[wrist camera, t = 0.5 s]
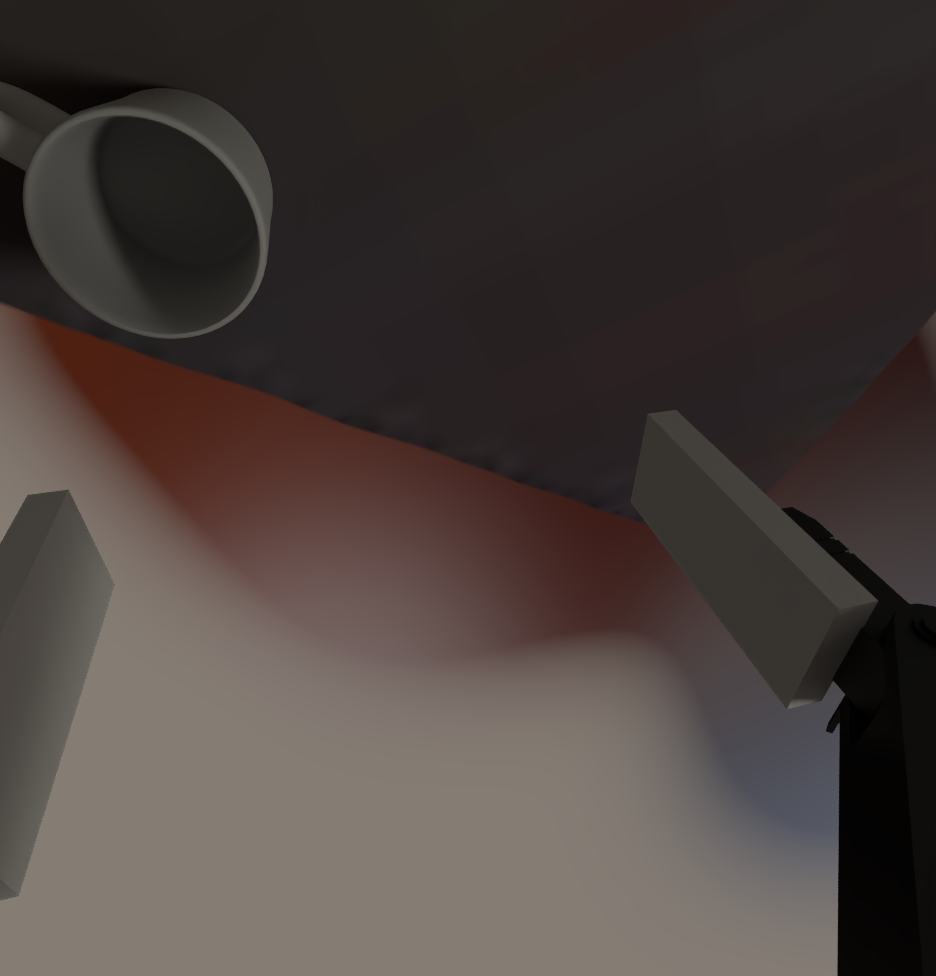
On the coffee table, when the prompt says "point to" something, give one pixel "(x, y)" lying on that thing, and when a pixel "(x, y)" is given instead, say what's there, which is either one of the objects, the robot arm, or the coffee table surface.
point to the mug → (143, 206)
